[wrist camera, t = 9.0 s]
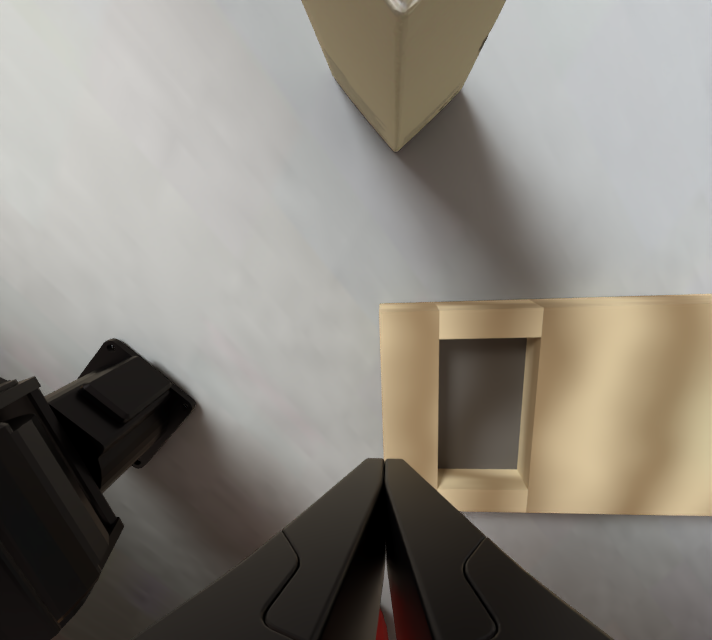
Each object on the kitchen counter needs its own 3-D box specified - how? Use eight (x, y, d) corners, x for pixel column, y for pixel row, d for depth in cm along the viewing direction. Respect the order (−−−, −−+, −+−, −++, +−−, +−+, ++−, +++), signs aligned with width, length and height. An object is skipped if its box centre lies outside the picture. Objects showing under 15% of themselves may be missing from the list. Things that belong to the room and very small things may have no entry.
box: (464, 89, 18) (651, -218, 5) (393, 156, 19) (409, 32, 6) (392, -7, 17) (411, -637, 4) (322, 69, 18) (178, -272, 5)
